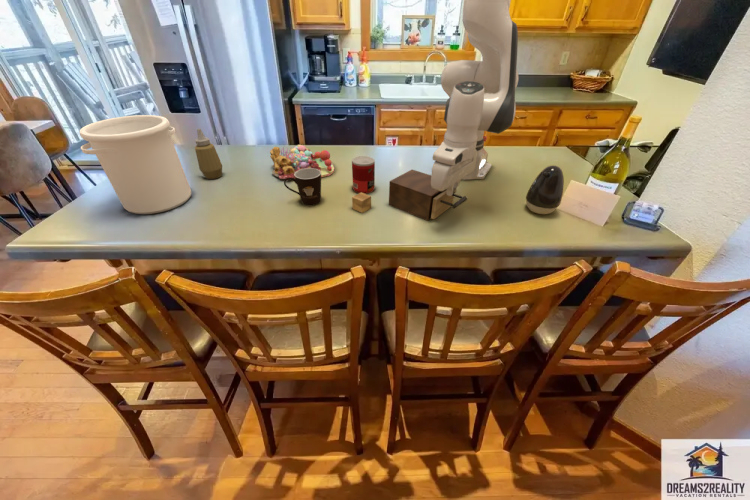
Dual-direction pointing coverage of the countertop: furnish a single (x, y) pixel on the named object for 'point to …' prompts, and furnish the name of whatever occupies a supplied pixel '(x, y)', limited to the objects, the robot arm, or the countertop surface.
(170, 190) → the bucket
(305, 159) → the candy landscape model
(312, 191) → the coffee mug
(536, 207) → the dark egg ornament
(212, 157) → the squeeze bottle
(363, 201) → the block
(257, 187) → the countertop surface
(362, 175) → the canned food
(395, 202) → the cabinet
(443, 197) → the drawer
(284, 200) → the countertop surface
